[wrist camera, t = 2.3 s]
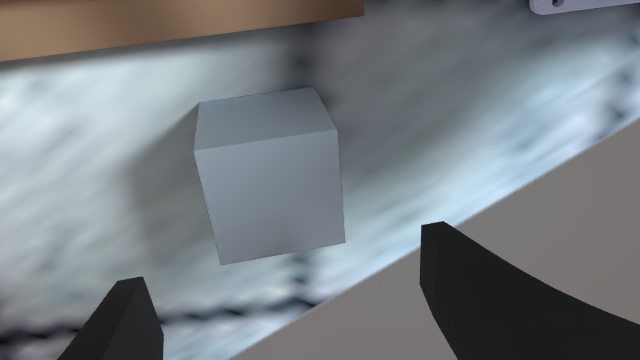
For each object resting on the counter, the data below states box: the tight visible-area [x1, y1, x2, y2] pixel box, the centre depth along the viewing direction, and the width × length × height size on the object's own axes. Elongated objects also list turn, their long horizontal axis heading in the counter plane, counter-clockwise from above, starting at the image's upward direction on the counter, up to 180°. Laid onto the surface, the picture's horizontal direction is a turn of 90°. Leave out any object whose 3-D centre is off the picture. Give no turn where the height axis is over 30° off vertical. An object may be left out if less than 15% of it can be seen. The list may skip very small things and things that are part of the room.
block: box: [193, 87, 345, 265], centre depth 17 cm, size 4×4×4 cm
